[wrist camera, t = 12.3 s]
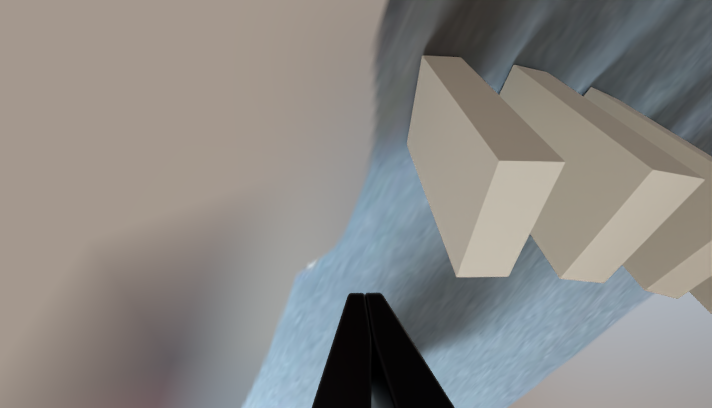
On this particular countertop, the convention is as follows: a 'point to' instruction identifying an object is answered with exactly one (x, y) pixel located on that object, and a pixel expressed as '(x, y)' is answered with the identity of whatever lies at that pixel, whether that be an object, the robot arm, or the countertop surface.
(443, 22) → the countertop surface
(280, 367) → the countertop surface
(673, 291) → the domino
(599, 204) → the domino
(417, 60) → the countertop surface
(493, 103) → the domino
